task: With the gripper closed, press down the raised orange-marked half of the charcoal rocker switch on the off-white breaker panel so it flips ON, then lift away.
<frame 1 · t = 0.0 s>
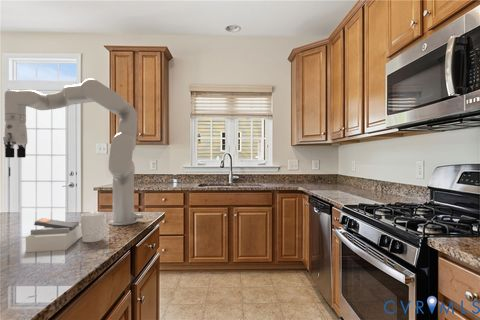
hand: (15, 157, 131), 31 cm above the counter, tool pointing down, fingers open, 9 cm apart
breaker panel: (56, 243, 107), on the counter
breaker rocker: (56, 223, 107), point 7 cm above the counter, hinge at -12.0°
white cup: (92, 240, 112), on the counter
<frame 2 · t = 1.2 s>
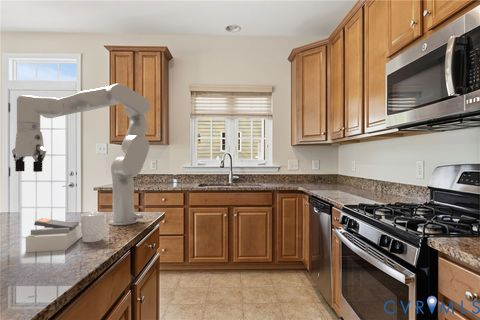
hand: (28, 171, 116), 26 cm above the counter, tool pointing down, fingers open, 9 cm apart
nothing on the counter moved.
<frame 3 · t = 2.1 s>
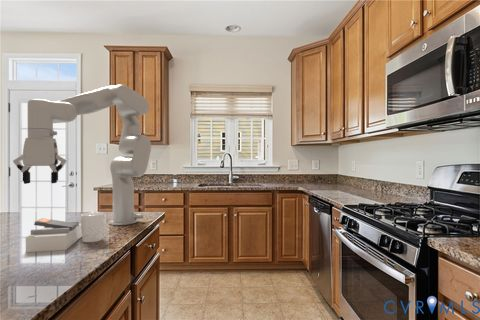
hand: (40, 182, 106), 22 cm above the counter, tool pointing down, fingers open, 8 cm apart
nothing on the counter moved.
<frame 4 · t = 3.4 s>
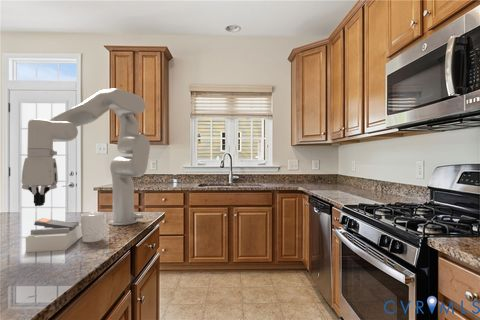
hand: (39, 205, 106), 14 cm above the counter, tool pointing down, fingers closed
nothing on the counter moved.
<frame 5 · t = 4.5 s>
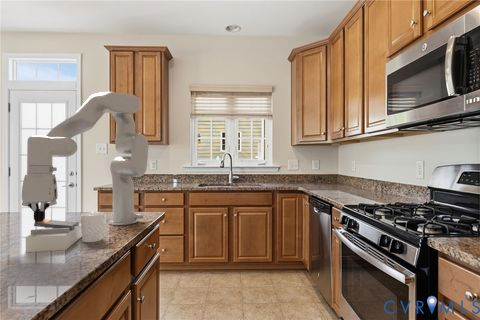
hand: (39, 221, 106), 8 cm above the counter, tool pointing down, fingers closed
breaker rocker: (56, 223, 107), point 7 cm above the counter, hinge at -8.0°, touching gripper
everything else where it was.
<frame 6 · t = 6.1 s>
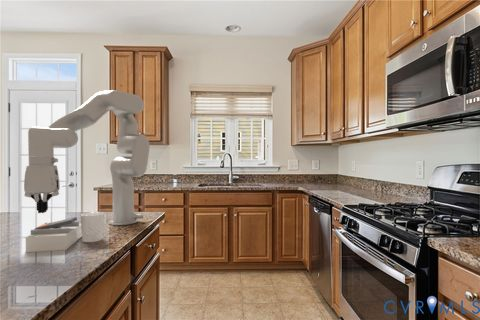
hand: (42, 212, 107), 11 cm above the counter, tool pointing down, fingers closed
breaker rocker: (56, 223, 107), point 7 cm above the counter, hinge at 12.5°
everything else where it was.
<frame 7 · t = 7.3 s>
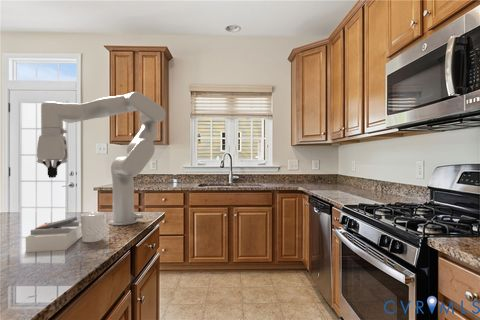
hand: (52, 177, 121), 23 cm above the counter, tool pointing down, fingers closed
breaker rocker: (56, 223, 107), point 7 cm above the counter, hinge at 13.2°
everything else where it was.
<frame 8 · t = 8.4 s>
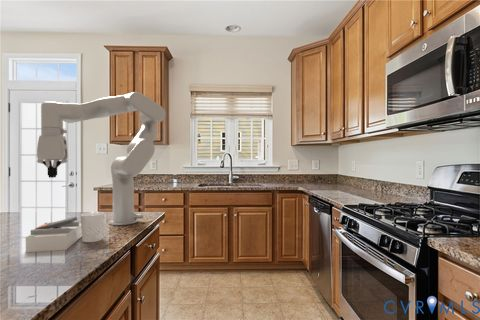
hand: (52, 177, 121), 23 cm above the counter, tool pointing down, fingers closed
nothing on the counter moved.
at the end: breaker rocker at +13° (first picture: -12°); white cup moved 0.2 cm from its start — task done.
